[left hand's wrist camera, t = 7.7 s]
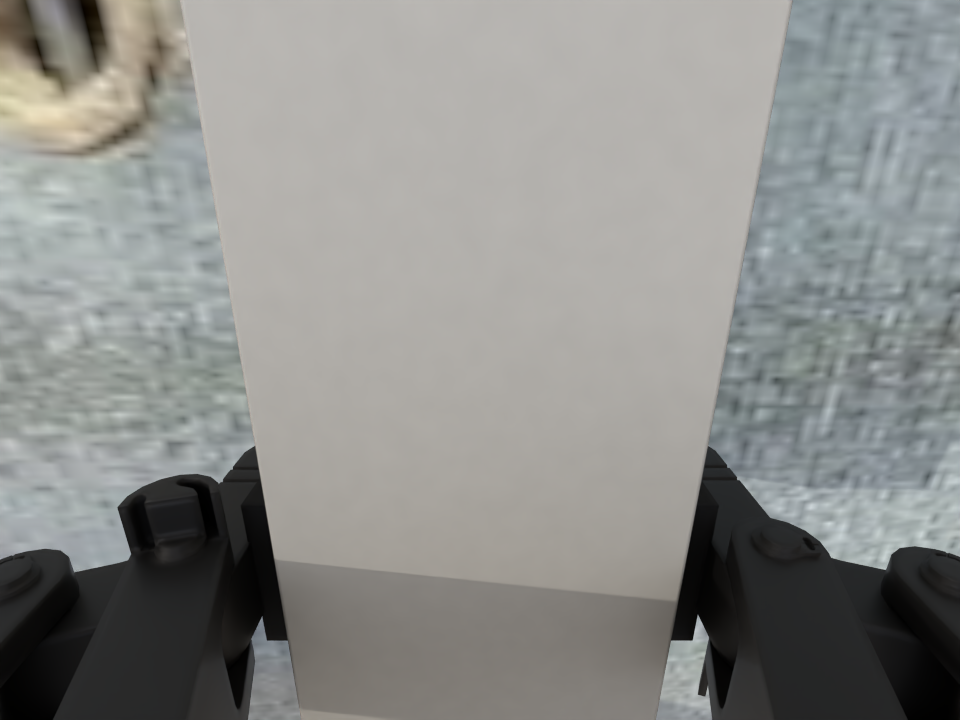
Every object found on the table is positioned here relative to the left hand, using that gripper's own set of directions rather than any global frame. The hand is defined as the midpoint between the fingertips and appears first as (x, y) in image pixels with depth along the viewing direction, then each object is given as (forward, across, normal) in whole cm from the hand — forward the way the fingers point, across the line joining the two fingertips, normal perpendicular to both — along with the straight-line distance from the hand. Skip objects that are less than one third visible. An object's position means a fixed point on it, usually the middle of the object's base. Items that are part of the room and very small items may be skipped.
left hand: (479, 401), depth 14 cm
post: (+1, 0, -23) cm, 23 cm away
